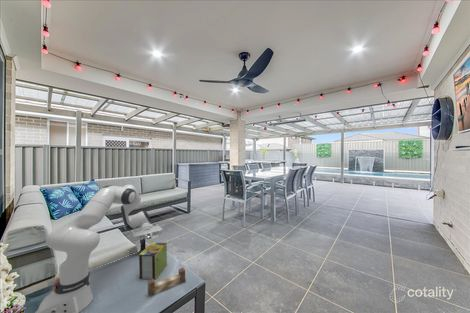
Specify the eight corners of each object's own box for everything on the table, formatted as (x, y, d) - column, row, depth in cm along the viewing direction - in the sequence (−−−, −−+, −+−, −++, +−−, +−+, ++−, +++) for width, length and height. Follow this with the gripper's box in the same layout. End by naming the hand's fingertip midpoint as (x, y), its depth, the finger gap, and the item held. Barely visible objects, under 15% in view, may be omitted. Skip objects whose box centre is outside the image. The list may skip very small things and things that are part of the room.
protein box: (167, 264, 124) (167, 242, 124) (155, 280, 109) (154, 255, 108) (152, 263, 125) (152, 241, 125) (138, 279, 110) (138, 254, 109)
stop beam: (148, 296, 97) (148, 284, 96) (147, 291, 100) (147, 279, 100) (185, 281, 108) (185, 270, 108) (183, 277, 111) (182, 266, 111)
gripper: (131, 230, 137) (133, 237, 126) (160, 223, 149) (163, 230, 137) (131, 238, 138) (133, 246, 126) (160, 231, 149) (164, 238, 138)
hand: (149, 237), depth 132 cm, fingers closed
